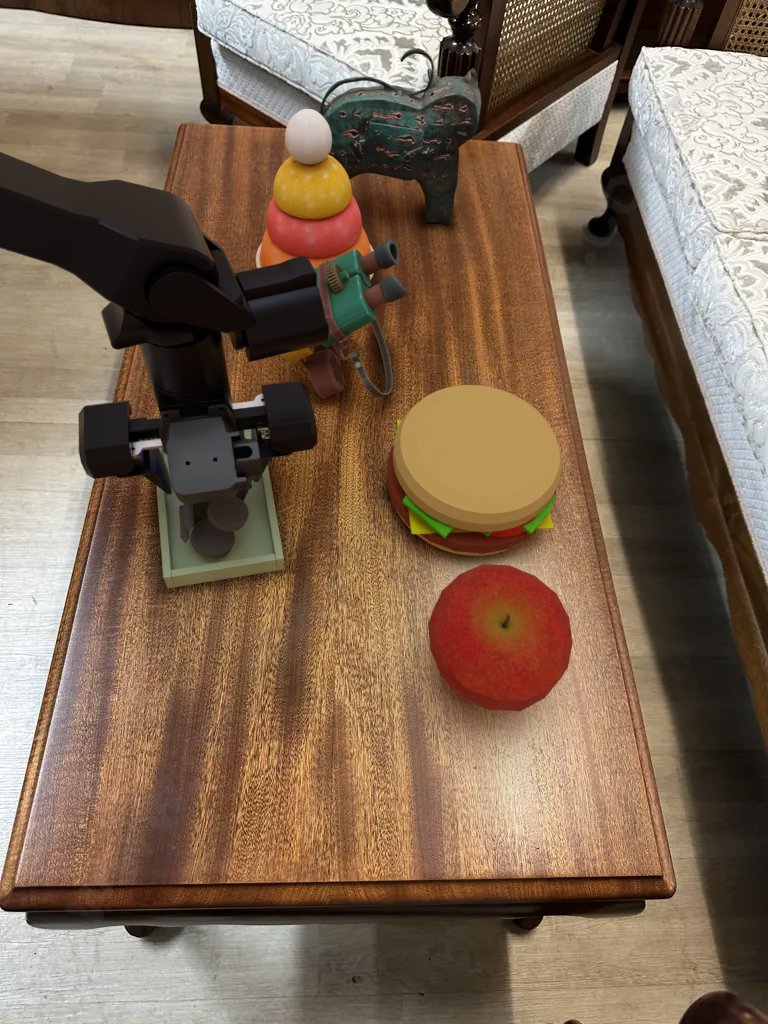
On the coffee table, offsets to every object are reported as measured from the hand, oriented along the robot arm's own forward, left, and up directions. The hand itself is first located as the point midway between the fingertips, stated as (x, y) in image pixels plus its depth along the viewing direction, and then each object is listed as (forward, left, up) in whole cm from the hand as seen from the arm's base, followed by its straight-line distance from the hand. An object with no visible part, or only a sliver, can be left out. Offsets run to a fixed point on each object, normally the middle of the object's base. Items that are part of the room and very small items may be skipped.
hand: (213, 484), depth 67 cm
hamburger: (+24, -3, -3) cm, 24 cm away
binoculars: (+14, +15, -3) cm, 20 cm away
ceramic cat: (+26, +41, -3) cm, 48 cm away
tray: (0, 0, -3) cm, 3 cm away
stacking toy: (+15, +31, -3) cm, 34 cm away
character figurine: (0, 0, -2) cm, 2 cm away
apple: (+20, -21, -3) cm, 29 cm away
